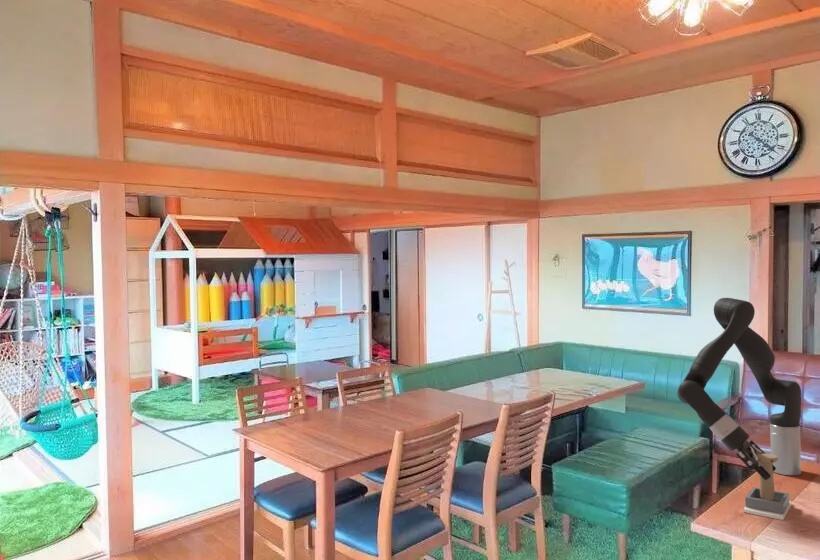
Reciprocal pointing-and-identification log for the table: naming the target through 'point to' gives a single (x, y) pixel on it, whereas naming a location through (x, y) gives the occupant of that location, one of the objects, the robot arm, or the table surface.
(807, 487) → the table surface
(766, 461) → the handle
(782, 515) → the holder
